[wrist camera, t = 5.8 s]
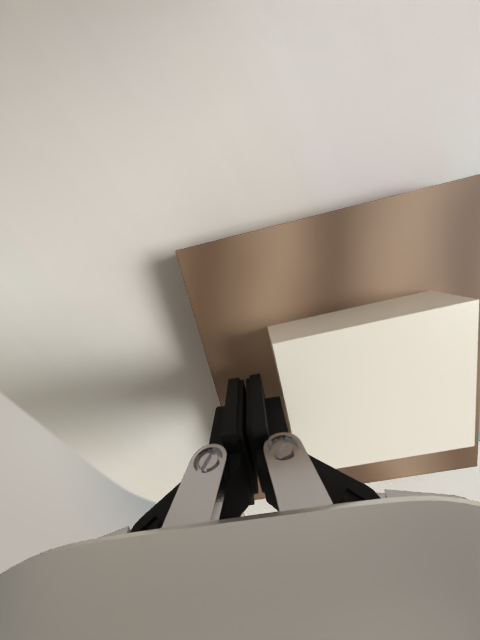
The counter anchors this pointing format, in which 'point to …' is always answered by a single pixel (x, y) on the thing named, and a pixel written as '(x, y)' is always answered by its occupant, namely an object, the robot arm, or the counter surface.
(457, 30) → the counter surface
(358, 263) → the board
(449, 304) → the block
